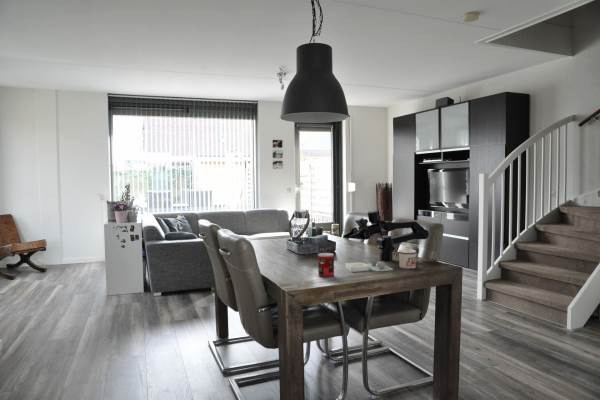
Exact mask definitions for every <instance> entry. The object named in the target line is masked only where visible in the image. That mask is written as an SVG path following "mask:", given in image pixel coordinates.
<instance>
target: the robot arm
mask: <svg viewBox="0 0 600 400" xmlns="http://www.w3.org/2000/svg"><path fill="white" fill-rule="evenodd" d="M368 222H369V223H370V225H368ZM355 223H356V224H357V226H358V227H350V229H349V231H348V232H347V233H345V234H344V235H343V236H342V238H344V239H352V240H353V239H354V240H362V241H363V240H365V241H367V240H370V239H371V237H373V236H374V235H377V236H378V238H377V240H376V246H377V247H378V249H379V251H380V252H379V260H380V262H381V261H382V262H391V261H394V258H393V252H394V250H395V246H394V245H397V244H402V243H405V242H408V241H412V240H427V239H428V238H429V237H430V236H429V235H430V233H429V231H428V230H427V229H425V228H424V227H423V226H422V225H420V223H418V221H415V220H409V221H408V220H407V221H387V220H383V219H381V216H380V211H379V210H373V211H372V210H370V211H368V212H367V218H364V217H358V218H357V219H355ZM397 229H411V232H409V233H408V232H407V233H404V234H400V235H396V236H391V235H388V234H386V235H383V234H384V231H385V232H392V231H395V230H397Z"/></svg>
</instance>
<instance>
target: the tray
mask: <svg viewBox="0 0 600 400" xmlns="http://www.w3.org/2000/svg"><path fill="white" fill-rule="evenodd" d="M379 262H380V261H378V262H377V264H378V263H379ZM364 263H365V264H367V265H369V266H370V270H372V271H374V272H386V271H387V272H388V271H394V267H393V268H392V267H390V266H388V265H386V264H385V267H384V269H379V268H378V266H377V264H376V265H374V266H373V265H371V263H370V262H364Z"/></svg>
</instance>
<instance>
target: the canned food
mask: <svg viewBox="0 0 600 400" xmlns="http://www.w3.org/2000/svg"><path fill="white" fill-rule="evenodd" d="M317 270H318V271H317V273H318V276H319V277H320V278H332V277H334V276H335V255H334V253H332V252H320V253H317Z"/></svg>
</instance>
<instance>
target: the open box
mask: <svg viewBox="0 0 600 400" xmlns="http://www.w3.org/2000/svg"><path fill="white" fill-rule="evenodd" d="M365 263H366V262H363V261H361V262H346V263H344V269H346V270H347V271H349V272H351V273H357V272H369V271H370V270H371V269H370V266H369V265H367V264H365Z"/></svg>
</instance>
